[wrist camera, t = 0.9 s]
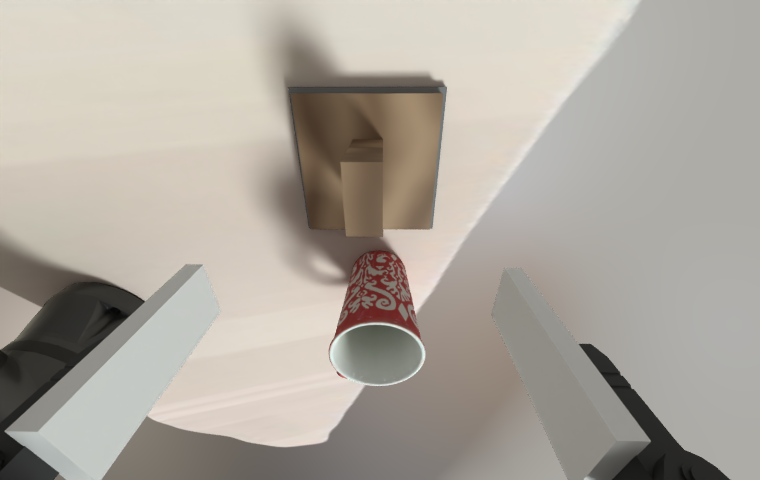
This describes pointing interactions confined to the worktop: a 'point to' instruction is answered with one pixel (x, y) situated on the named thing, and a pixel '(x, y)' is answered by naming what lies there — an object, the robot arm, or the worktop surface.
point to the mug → (377, 324)
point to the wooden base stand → (368, 159)
